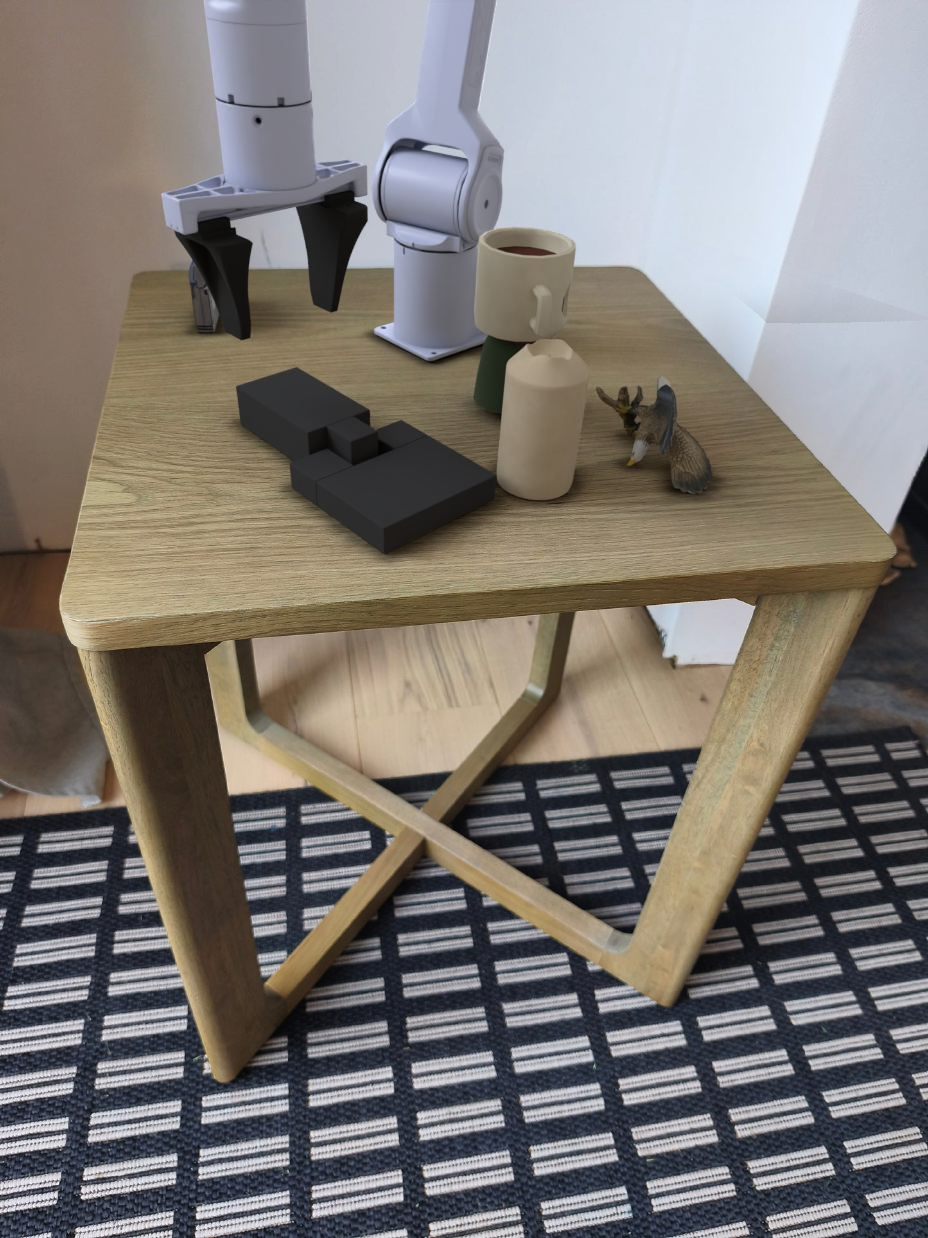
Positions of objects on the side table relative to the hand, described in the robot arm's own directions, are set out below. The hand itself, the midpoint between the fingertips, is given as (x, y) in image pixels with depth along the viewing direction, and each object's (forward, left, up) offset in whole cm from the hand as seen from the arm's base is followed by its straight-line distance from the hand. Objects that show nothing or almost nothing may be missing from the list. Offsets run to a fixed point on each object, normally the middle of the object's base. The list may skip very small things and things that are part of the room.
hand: (283, 320), depth 60 cm
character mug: (-16, +8, -8) cm, 20 cm away
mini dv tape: (-7, -22, -8) cm, 25 cm away
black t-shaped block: (0, +3, -8) cm, 9 cm away
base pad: (0, +12, -8) cm, 15 cm away
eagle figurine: (-18, +21, -8) cm, 29 cm away
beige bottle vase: (-9, +17, -8) cm, 21 cm away
